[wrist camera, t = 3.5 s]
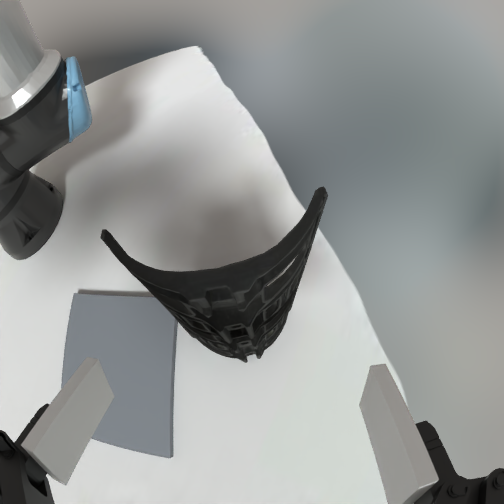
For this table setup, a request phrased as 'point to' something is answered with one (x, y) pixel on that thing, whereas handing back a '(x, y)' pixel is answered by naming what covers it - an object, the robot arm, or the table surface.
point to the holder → (234, 290)
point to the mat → (128, 366)
